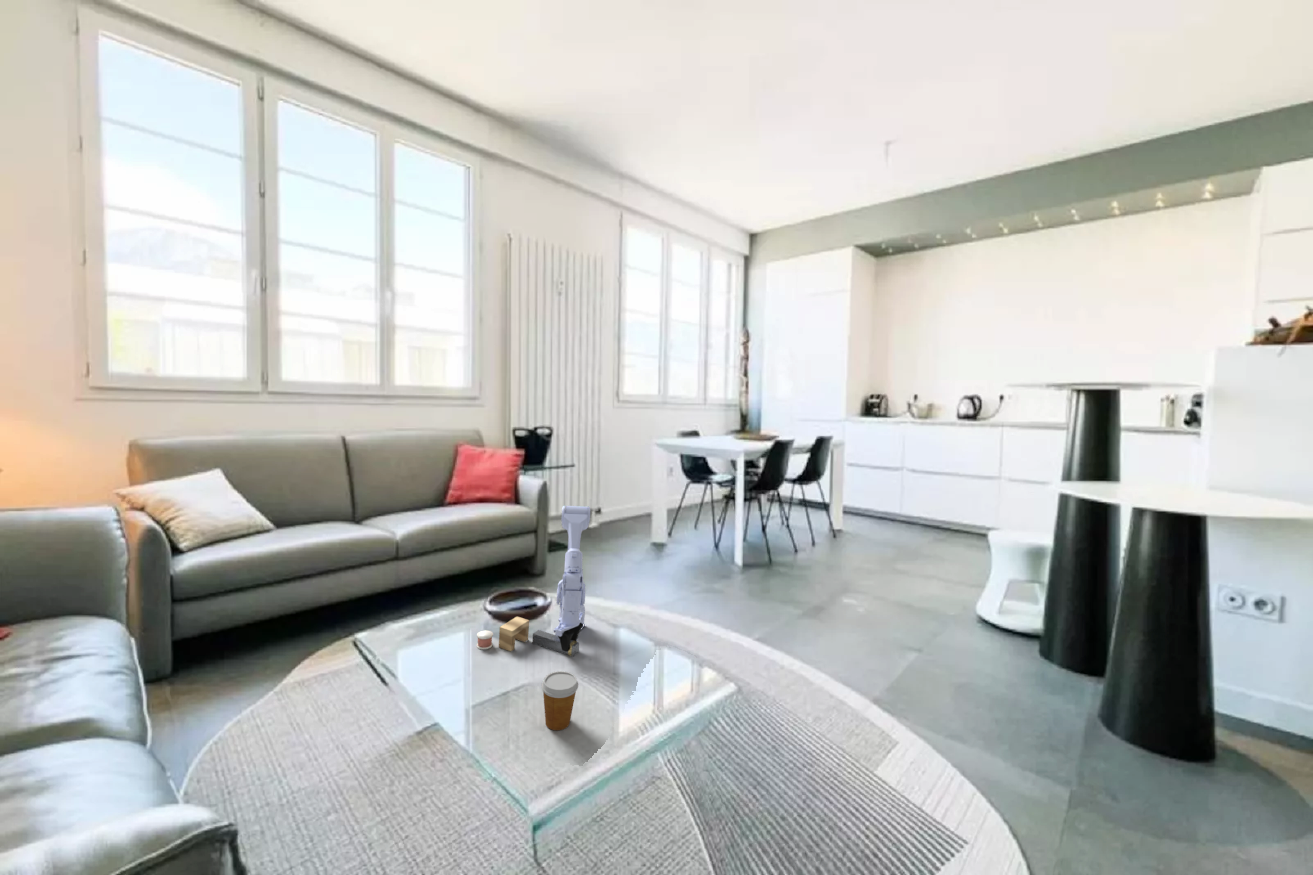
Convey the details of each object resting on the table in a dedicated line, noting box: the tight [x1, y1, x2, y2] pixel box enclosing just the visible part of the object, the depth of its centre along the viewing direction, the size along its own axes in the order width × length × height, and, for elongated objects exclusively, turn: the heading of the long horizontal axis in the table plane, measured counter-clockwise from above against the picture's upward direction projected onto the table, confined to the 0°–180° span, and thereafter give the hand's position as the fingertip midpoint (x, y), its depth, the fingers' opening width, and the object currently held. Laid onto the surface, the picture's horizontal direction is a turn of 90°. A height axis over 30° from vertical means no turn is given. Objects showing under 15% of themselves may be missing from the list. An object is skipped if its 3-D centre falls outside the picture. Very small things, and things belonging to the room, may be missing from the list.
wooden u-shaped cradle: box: [498, 616, 530, 652], centre depth 185 cm, size 9×5×7 cm, turn 157°
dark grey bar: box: [531, 629, 580, 657], centre depth 185 cm, size 3×16×4 cm, turn 67°
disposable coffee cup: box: [540, 670, 579, 731], centre depth 146 cm, size 10×10×12 cm
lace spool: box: [476, 630, 494, 650], centre depth 182 cm, size 5×5×4 cm
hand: (568, 647), depth 183 cm, fingers open, 4 cm apart
